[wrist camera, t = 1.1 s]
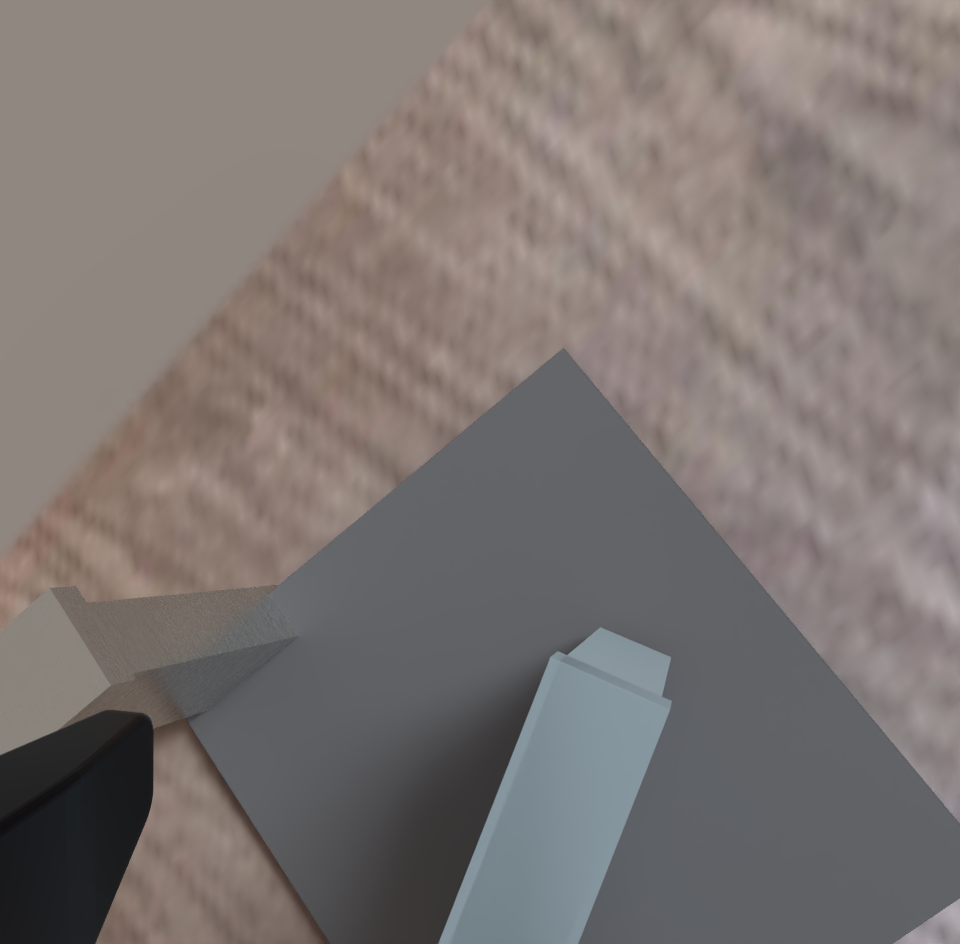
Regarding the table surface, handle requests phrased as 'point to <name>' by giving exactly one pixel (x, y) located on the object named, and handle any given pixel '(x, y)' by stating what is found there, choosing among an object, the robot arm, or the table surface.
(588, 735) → the gate
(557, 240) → the table surface
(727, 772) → the mat
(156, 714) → the latch post
